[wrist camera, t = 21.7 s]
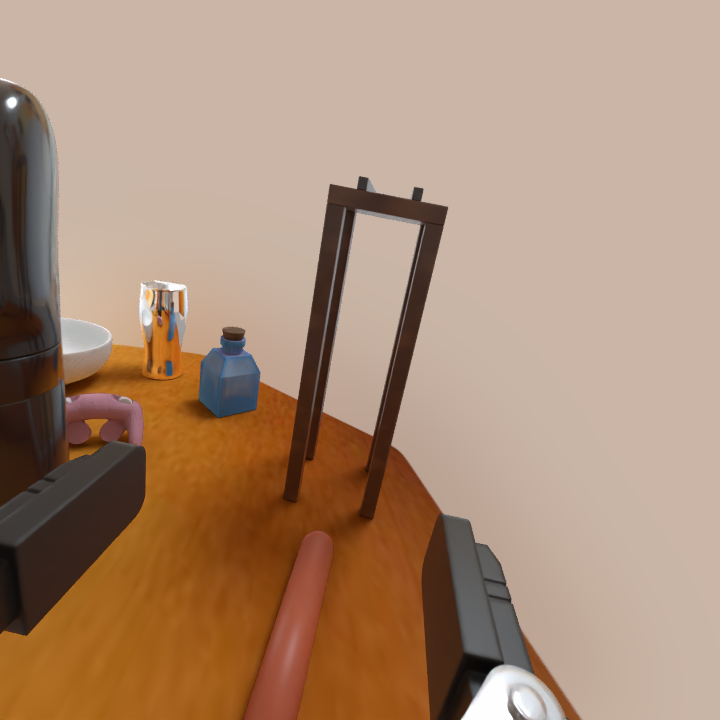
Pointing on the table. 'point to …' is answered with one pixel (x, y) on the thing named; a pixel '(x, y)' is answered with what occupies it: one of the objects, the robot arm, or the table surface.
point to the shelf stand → (326, 315)
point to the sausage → (293, 634)
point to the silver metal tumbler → (162, 327)
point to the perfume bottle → (229, 376)
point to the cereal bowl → (83, 348)
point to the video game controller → (104, 417)
